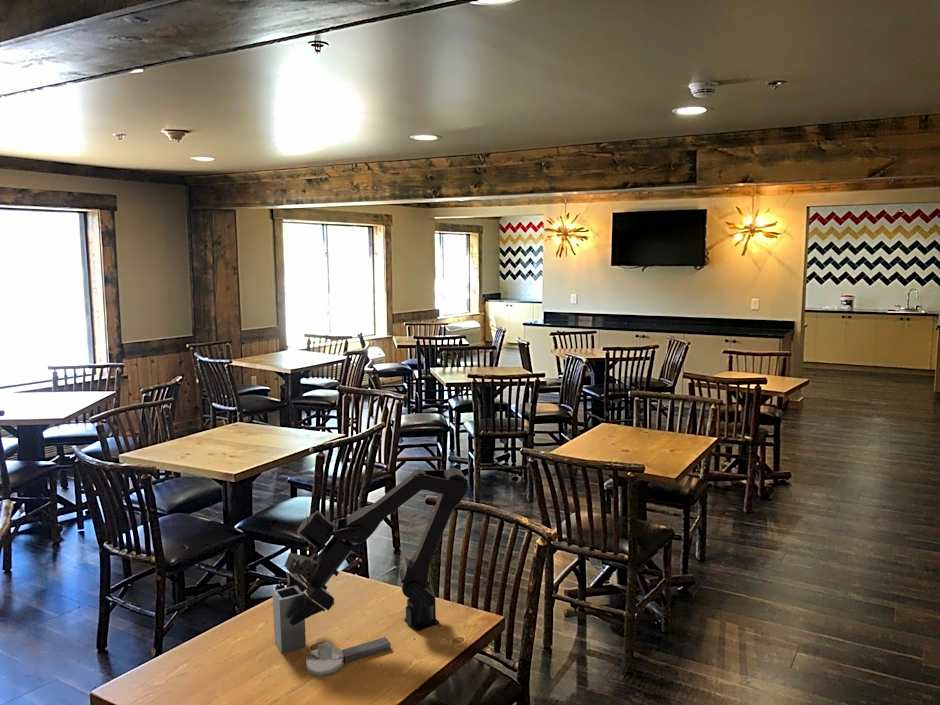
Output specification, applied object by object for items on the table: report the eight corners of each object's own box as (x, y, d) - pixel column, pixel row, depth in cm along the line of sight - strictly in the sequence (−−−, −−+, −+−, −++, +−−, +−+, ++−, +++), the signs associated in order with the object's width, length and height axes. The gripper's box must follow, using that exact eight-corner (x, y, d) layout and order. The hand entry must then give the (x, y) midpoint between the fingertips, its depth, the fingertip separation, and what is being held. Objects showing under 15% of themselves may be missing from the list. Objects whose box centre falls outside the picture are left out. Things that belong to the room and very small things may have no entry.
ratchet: (313, 679, 149) (312, 659, 149) (301, 662, 156) (300, 642, 156) (395, 654, 159) (395, 635, 158) (380, 638, 166) (380, 620, 165)
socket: (298, 635, 167) (296, 585, 166) (305, 646, 163) (303, 594, 161) (274, 642, 165) (272, 590, 163) (281, 653, 160) (279, 600, 158)
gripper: (293, 528, 171) (249, 582, 167) (319, 554, 155) (270, 615, 151) (325, 552, 176) (283, 605, 172) (353, 580, 160) (307, 640, 156)
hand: (285, 615), depth 162 cm, fingers open, 9 cm apart
